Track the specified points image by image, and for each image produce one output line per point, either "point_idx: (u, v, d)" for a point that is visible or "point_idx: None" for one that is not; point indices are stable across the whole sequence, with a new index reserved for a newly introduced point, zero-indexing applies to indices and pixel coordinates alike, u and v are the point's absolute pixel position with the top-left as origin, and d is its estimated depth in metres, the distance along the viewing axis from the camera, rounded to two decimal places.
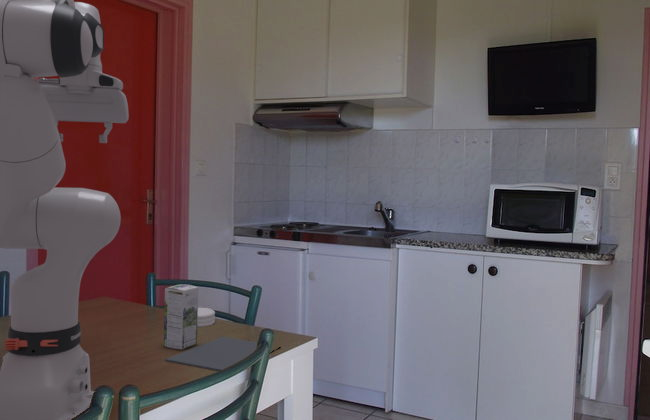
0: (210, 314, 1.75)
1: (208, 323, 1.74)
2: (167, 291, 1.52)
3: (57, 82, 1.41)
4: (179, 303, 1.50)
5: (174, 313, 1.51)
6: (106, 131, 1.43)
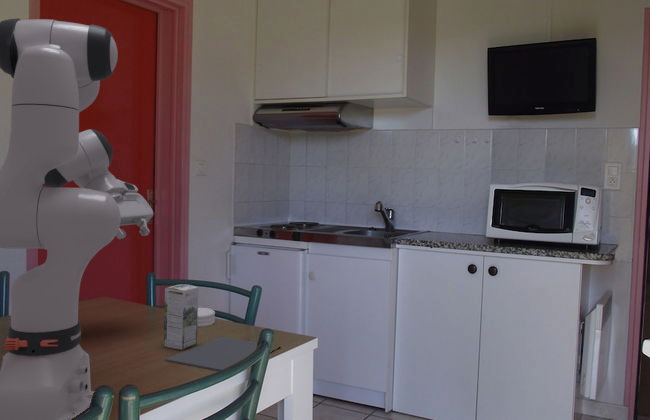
0: (210, 314, 1.75)
1: (208, 323, 1.74)
2: (167, 291, 1.52)
3: None
4: (179, 303, 1.50)
5: (174, 313, 1.51)
6: (145, 223, 1.64)
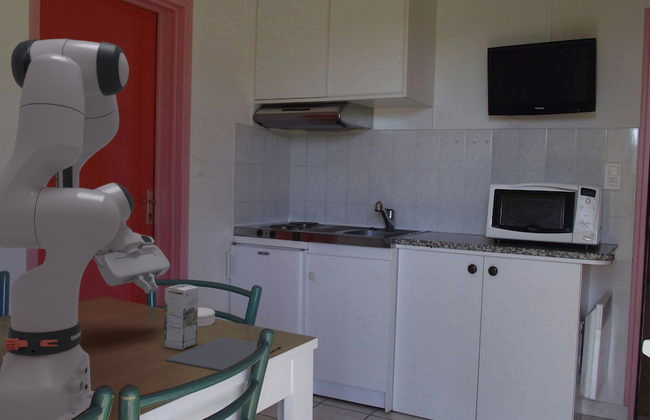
0: (210, 314, 1.75)
1: (208, 323, 1.74)
2: (167, 291, 1.52)
3: (110, 252, 1.56)
4: (179, 303, 1.50)
5: (174, 313, 1.51)
6: (153, 279, 1.59)
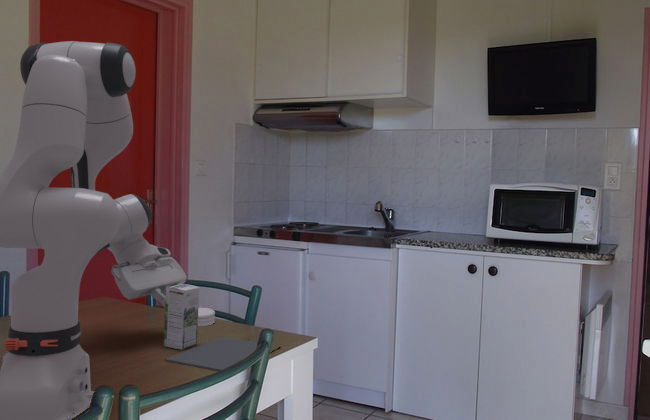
0: (210, 314, 1.75)
1: (208, 323, 1.74)
2: (168, 291, 1.52)
3: (127, 264, 1.54)
4: (180, 303, 1.50)
5: (174, 313, 1.51)
6: None
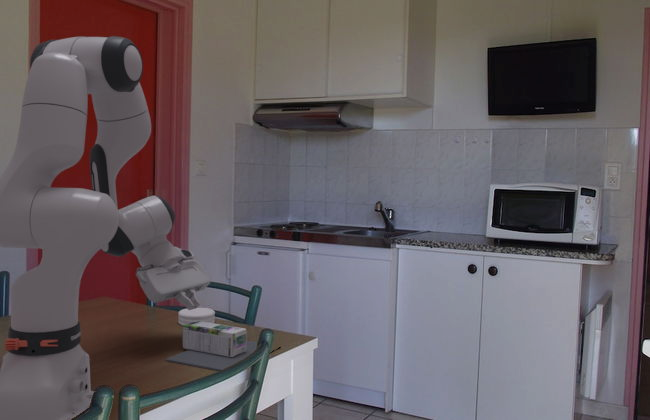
0: (210, 314, 1.75)
1: None
2: (229, 336, 1.44)
3: (152, 267, 1.51)
4: (221, 351, 1.46)
5: (211, 342, 1.47)
6: (195, 295, 1.54)
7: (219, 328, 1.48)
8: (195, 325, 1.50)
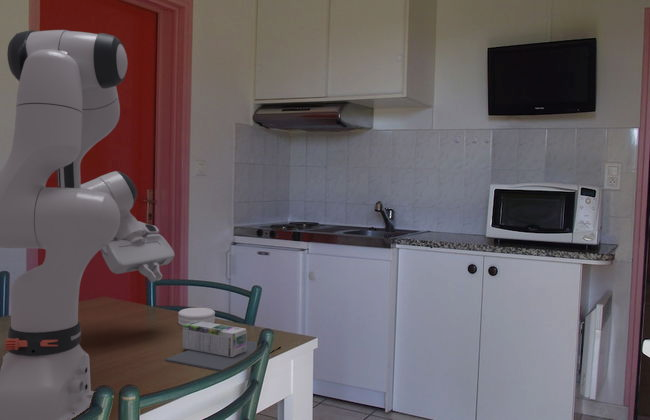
0: (210, 314, 1.75)
1: None
2: (229, 336, 1.44)
3: (115, 240, 1.55)
4: (221, 351, 1.46)
5: (211, 342, 1.47)
6: (158, 268, 1.58)
7: (219, 328, 1.48)
8: (195, 325, 1.50)
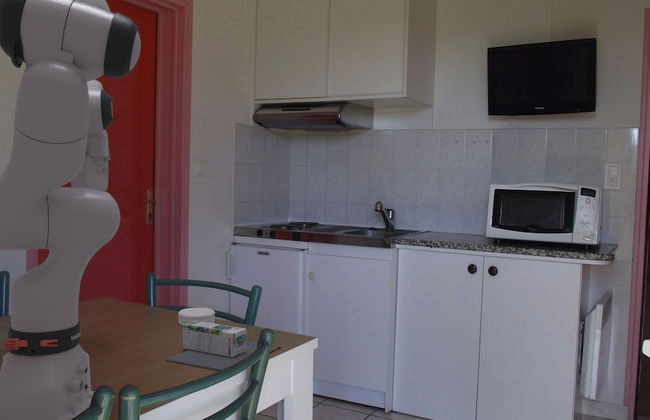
0: (210, 314, 1.75)
1: None
2: (229, 336, 1.44)
3: (85, 152, 1.44)
4: (221, 351, 1.46)
5: (211, 342, 1.47)
6: None
7: (219, 328, 1.48)
8: (195, 325, 1.50)
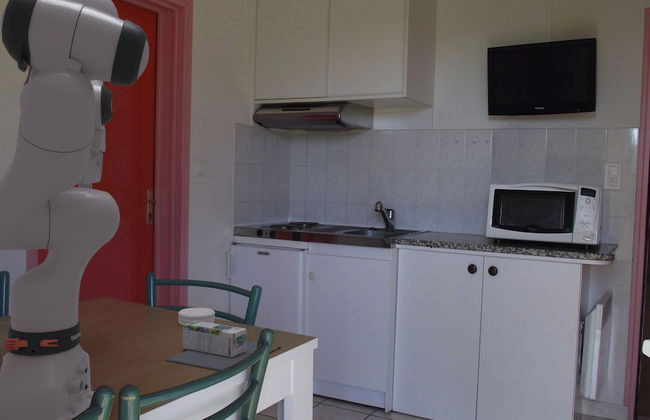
0: (210, 314, 1.75)
1: None
2: (229, 336, 1.44)
3: None
4: (221, 351, 1.46)
5: (211, 342, 1.47)
6: None
7: (219, 328, 1.48)
8: (195, 325, 1.50)
